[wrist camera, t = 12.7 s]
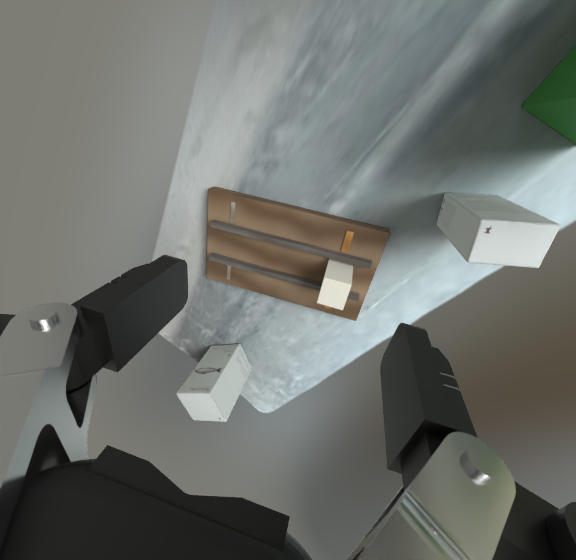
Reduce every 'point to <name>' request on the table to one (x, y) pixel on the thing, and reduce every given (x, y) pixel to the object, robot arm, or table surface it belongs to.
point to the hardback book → (557, 98)
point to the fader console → (288, 249)
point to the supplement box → (215, 383)
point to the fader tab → (336, 284)
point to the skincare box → (495, 230)
